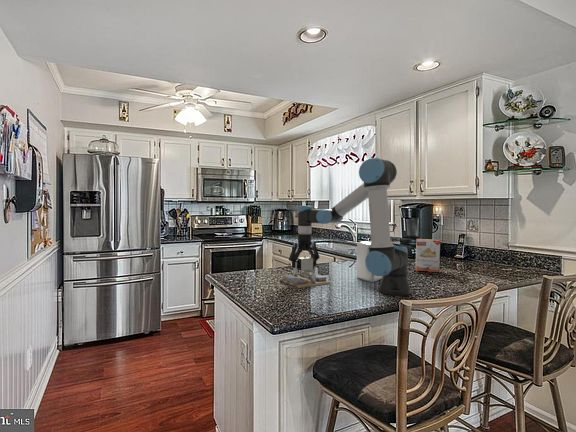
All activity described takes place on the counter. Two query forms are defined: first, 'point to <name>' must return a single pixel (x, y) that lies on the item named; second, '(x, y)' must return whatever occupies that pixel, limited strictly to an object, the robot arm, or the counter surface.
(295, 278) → the hinge leaves
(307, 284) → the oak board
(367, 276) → the soap dispenser
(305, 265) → the pneumatic valve
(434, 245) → the cracker box
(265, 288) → the counter surface
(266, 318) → the counter surface
